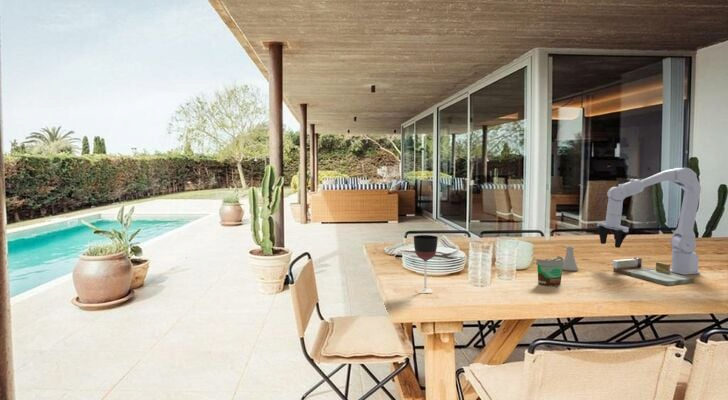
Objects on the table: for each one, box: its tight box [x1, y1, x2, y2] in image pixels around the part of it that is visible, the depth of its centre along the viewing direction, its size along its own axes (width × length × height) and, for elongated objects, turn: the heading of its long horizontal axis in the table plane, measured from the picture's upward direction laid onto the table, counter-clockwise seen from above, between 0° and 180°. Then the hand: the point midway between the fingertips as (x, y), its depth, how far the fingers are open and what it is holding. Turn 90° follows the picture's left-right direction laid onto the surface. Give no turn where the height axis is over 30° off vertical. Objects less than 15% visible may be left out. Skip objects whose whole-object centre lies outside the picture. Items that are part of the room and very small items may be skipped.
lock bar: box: [612, 257, 643, 269], centre depth 191 cm, size 14×3×4 cm, turn 108°
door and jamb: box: [613, 261, 694, 286], centre depth 182 cm, size 14×24×5 cm, turn 18°
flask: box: [562, 245, 579, 272], centre depth 195 cm, size 7×7×10 cm
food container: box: [535, 255, 565, 287], centre depth 171 cm, size 12×6×10 cm, turn 117°
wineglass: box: [413, 234, 439, 292], centre depth 163 cm, size 8×9×20 cm
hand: (610, 245), depth 195 cm, fingers open, 7 cm apart
